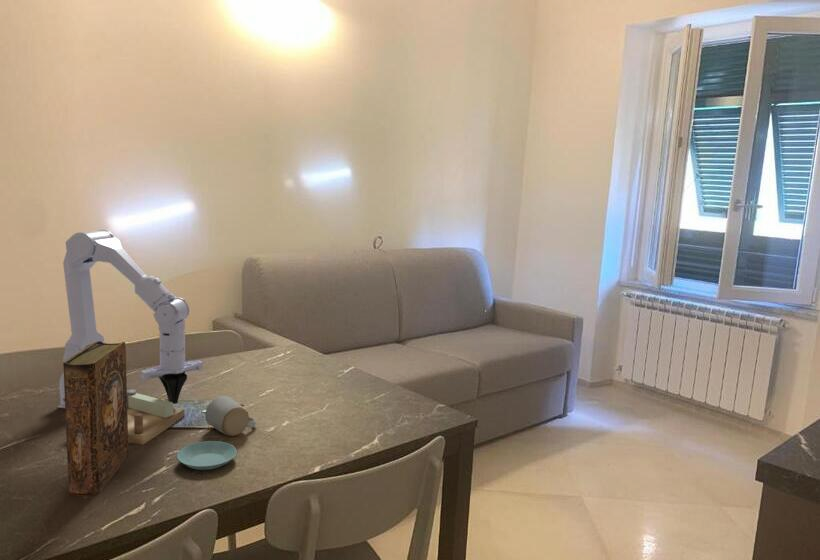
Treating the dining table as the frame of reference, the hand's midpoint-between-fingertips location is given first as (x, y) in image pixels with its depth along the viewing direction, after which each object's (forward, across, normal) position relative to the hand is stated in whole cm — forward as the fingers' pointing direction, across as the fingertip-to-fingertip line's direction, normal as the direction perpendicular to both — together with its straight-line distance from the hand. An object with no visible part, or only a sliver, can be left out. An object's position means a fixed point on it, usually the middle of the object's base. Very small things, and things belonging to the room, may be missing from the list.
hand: (173, 402), depth 154 cm
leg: (+1, -6, +1) cm, 6 cm away
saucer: (+4, -5, -28) cm, 29 cm away
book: (+3, -24, -20) cm, 32 cm away
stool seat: (+3, -10, 0) cm, 11 cm away
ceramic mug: (+3, +7, -16) cm, 18 cm away
